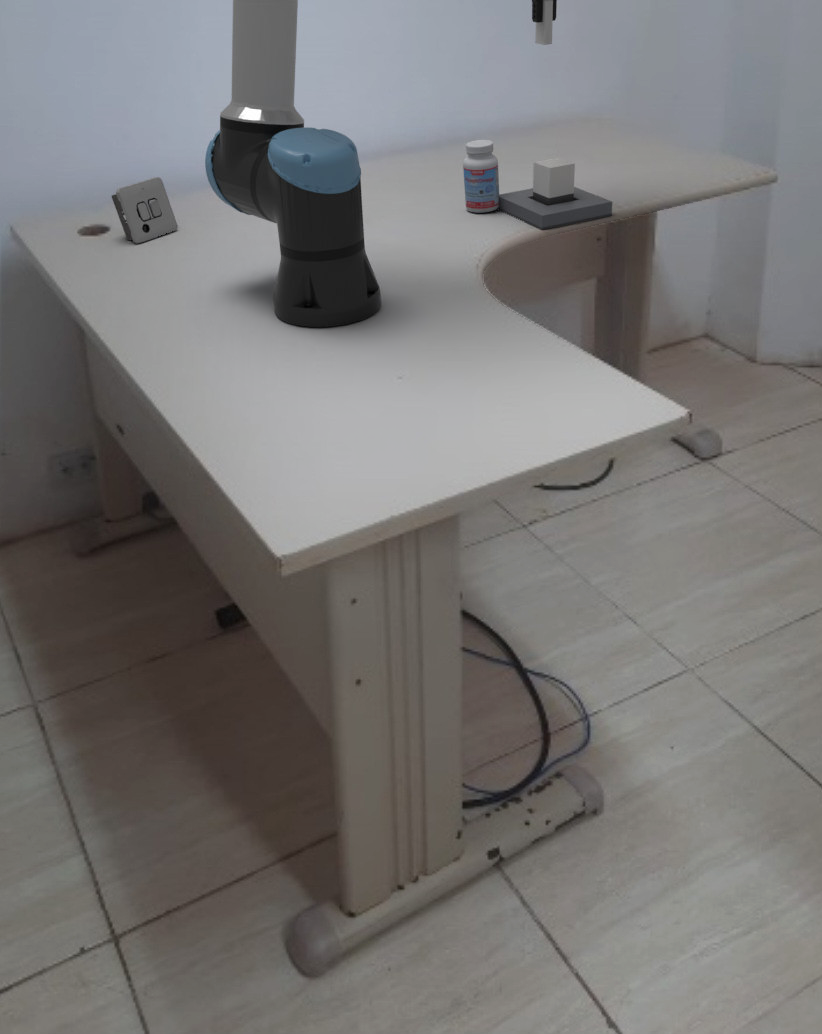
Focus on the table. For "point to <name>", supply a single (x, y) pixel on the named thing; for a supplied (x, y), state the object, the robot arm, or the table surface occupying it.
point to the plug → (553, 181)
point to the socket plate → (554, 208)
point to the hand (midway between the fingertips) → (543, 43)
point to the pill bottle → (481, 177)
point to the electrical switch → (144, 210)
